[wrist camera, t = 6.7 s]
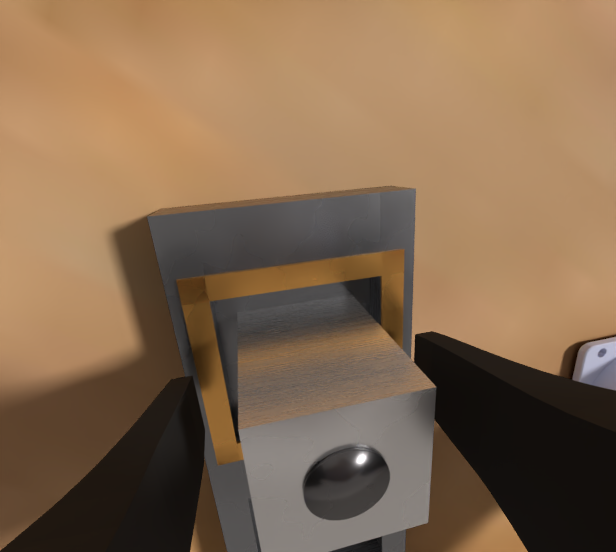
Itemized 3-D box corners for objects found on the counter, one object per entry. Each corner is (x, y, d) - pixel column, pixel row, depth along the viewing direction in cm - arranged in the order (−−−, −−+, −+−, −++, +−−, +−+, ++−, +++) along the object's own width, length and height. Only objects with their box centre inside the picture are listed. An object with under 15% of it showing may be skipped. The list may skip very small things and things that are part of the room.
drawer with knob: (351, 294, 12) (439, 389, 7) (355, 388, 14) (430, 526, 8) (237, 312, 11) (238, 433, 6) (253, 409, 13) (264, 575, 8)
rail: (390, 185, 12) (417, 188, 10) (388, 632, 21) (402, 674, 19) (160, 208, 11) (145, 216, 9) (265, 674, 20) (268, 724, 18)
